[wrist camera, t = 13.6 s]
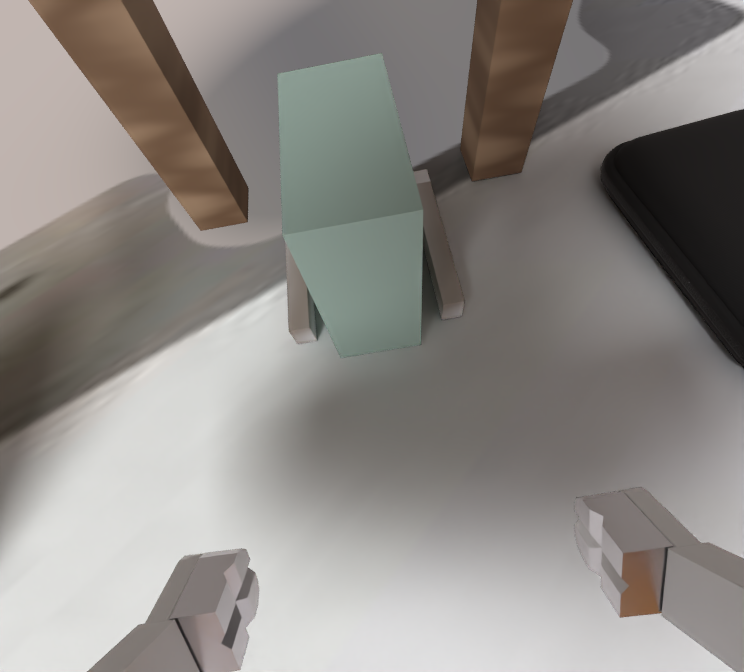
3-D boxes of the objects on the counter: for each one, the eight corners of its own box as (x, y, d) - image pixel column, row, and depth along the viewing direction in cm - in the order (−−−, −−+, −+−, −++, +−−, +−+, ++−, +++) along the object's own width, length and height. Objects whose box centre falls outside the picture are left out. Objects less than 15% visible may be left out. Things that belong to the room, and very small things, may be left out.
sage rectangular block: (341, 358, 19) (282, 235, 11) (328, 235, 22) (277, 73, 14) (420, 344, 18) (423, 209, 10) (394, 223, 22) (381, 52, 14)
